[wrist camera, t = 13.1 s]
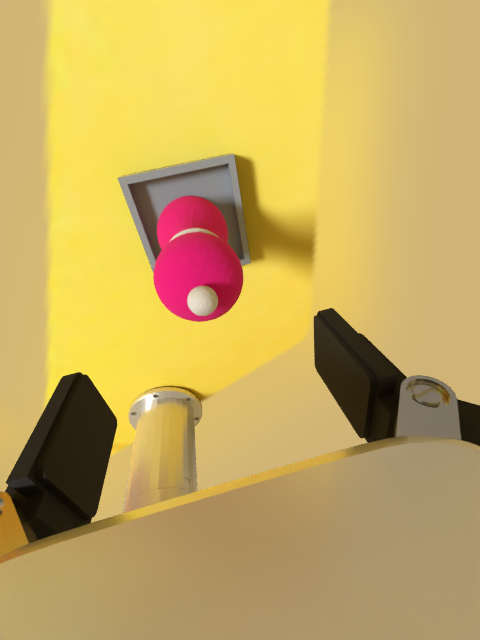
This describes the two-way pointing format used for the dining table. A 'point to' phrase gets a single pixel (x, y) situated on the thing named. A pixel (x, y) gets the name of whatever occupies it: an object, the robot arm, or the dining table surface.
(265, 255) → the dining table surface
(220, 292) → the pepper mill
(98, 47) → the dining table surface
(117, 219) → the dining table surface
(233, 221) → the tray
